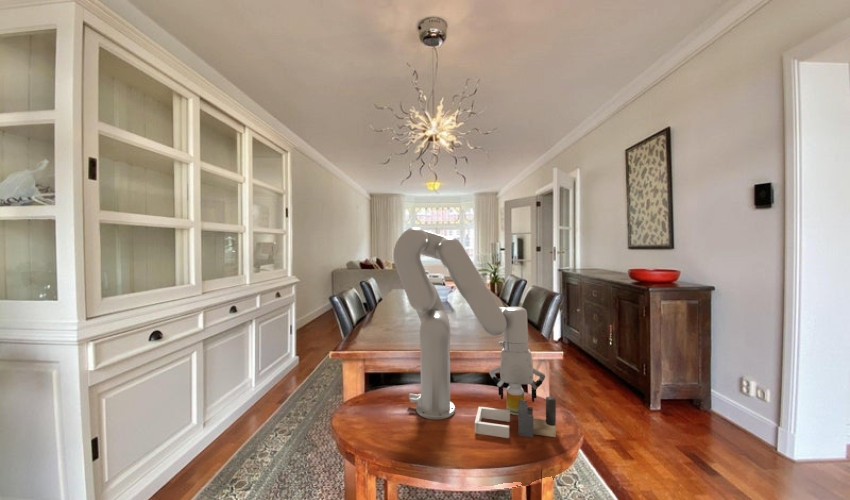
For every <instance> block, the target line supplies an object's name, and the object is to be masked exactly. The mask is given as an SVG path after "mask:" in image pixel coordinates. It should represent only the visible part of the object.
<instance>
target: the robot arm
mask: <svg viewBox="0 0 850 500" xmlns="http://www.w3.org/2000/svg"><path fill="white" fill-rule="evenodd" d="M393 248H394V249H393V261H394V262H393V264H394V266H395V269H396V273H397V274H398V276H399V279H400V282H401V284H402V288H403V290H404V292H405V295H406V297H407V299H408V302H409V303H408V304H410V306H411V308H412V309H413V310H415V311H416V313H417V316H418V319H419V320H420V325H419V345H420V346H419V347H420V351H419V352H420V393H418V394H416V393H412V392H410V393H408V400H409V402H410V403H412V404H416V406H415V411H416V413H417V414H418V416H420V417H422V418H425V419H427V420H436V421H437V420H445V419H448V418H450V417H452V416H453V415H454V414H455V411H456V405H455V404H454V403H453V402H452V401H451V325H450V319H449V316H448V314H447V311H446V309H445V307H444V304H443V302H442V300H441V297H440V295H439V292H438V290H437V288H436V286H435V285H434V283H432V282H431V281H430V279H429V277H428V275H427V272H426V269H425V267H424V265H423V263H422V260H421V259H422V258H421V255H423V256H426V257H429V258H431V259H437V260H439V261H440V262H441V264H442V265H443V267H444V268H445V270H446V272H447V273H448V275H449V277H450V278H451V280H452V282H453V284H454V285H455V287H456V289H457V290H458V291H459V293H460V295H461V296H462V297H463V299H464V300H465V301H466V303H467V304H468V306H469V308H470V309H471V311H472V312H473V314H474V316H475V318H476V319H477V321H478V322H479V324H480V325H481V327H482V329H483V331H484V332H485V333H486V334H487V335H489V336H492V337H498V336H500V335H503V339H502V341H499V342H498V343H499V344H498V345H499V347H502V349H501V352H500V363H499V364H500V365H499V366H497V367H495V368H492V369H490V370H489V373H488V374H489V375H490V377H491V379H492V381H493V382H494V383H495V384H496V386H497V387H498V396H500V400H504V383H506V384H509V383H514V384H522V385H530V386H531V388H530V389H531V402H532V403H535V399H537V389H538V388H539V387H540V386H541V385H543V382H544V380H545V379H546V375H545V373H543V372H541V371H540V370H538V369H536V368H534V364H533V356H532V352H531V350H530V348H529V329H528V327H529V326H528V312H527V309H526V308H524V307H522V306H507V307H505V306H503V307H502V306H499V305H498V303H497V302H496V300H495V299H494V296H493V295H492V294H491V292H490V290H489V288H488V287H487V284H486V282H485V281H484V279H483V277H482V275H481V274H480V273H479V271H478V269H477V268H476V266H475V264H474V262H473V261H472V259H471V258H470V255H468V252H467V251H466V249H465V247H464V246H463V244H462V243H461V242H460V240H459V239H457V238H456V237H452V236H445V235H441V234H437V233H435V232H431V231H428V230H424V229H423V228H421V227H419V226H418V227H417V226H413V227H409V228H408V229H405V231H404V232H402V233H401V235H400V236H399V238H398V239H397V241H396V243H395V244H394V247H393ZM497 373H499V374H500V375H499V376H500V378H499V377H497V376H496V374H497ZM534 375H535V376H537V377H539V378H538V379H537V380H536V381H535V380H534Z"/></svg>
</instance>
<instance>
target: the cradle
mask: <svg viewBox="0 0 850 500" xmlns="http://www.w3.org/2000/svg"><path fill="white" fill-rule="evenodd" d="M483 419H485V420H486V419H487V420H495V421H500V422H511V414H510V410H507V409H503V408H493V407H486V406H478V408H477V413H476V416H475V420H474V434H476V435H477V434H478V435H485V436H490V437H491V436H492V437H497V438H498V437H500V438H503V439H504V438H505V439H510V425H508V424H507V425H506V424H499V423H492V422H487V421H486V422H485V421H482V420H483Z"/></svg>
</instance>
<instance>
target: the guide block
mask: <svg viewBox="0 0 850 500" xmlns="http://www.w3.org/2000/svg"><path fill="white" fill-rule="evenodd" d="M533 408H534V407H532V406H528V400H524V401H521V400H518V415H517V417H518V424H517V425H518V429H517V430H518V432H517V433H518V436H519V437H520V436H521V437H527V438H534V434H533V418H534V415H533V414H534V413H533V412H534V410H533Z"/></svg>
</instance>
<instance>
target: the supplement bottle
mask: <svg viewBox="0 0 850 500" xmlns="http://www.w3.org/2000/svg"><path fill="white" fill-rule="evenodd" d="M518 400H521V401H525V390H524V388H523V384H514V383H508V386H507V387H506V410H510V415H513V416H518Z"/></svg>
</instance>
